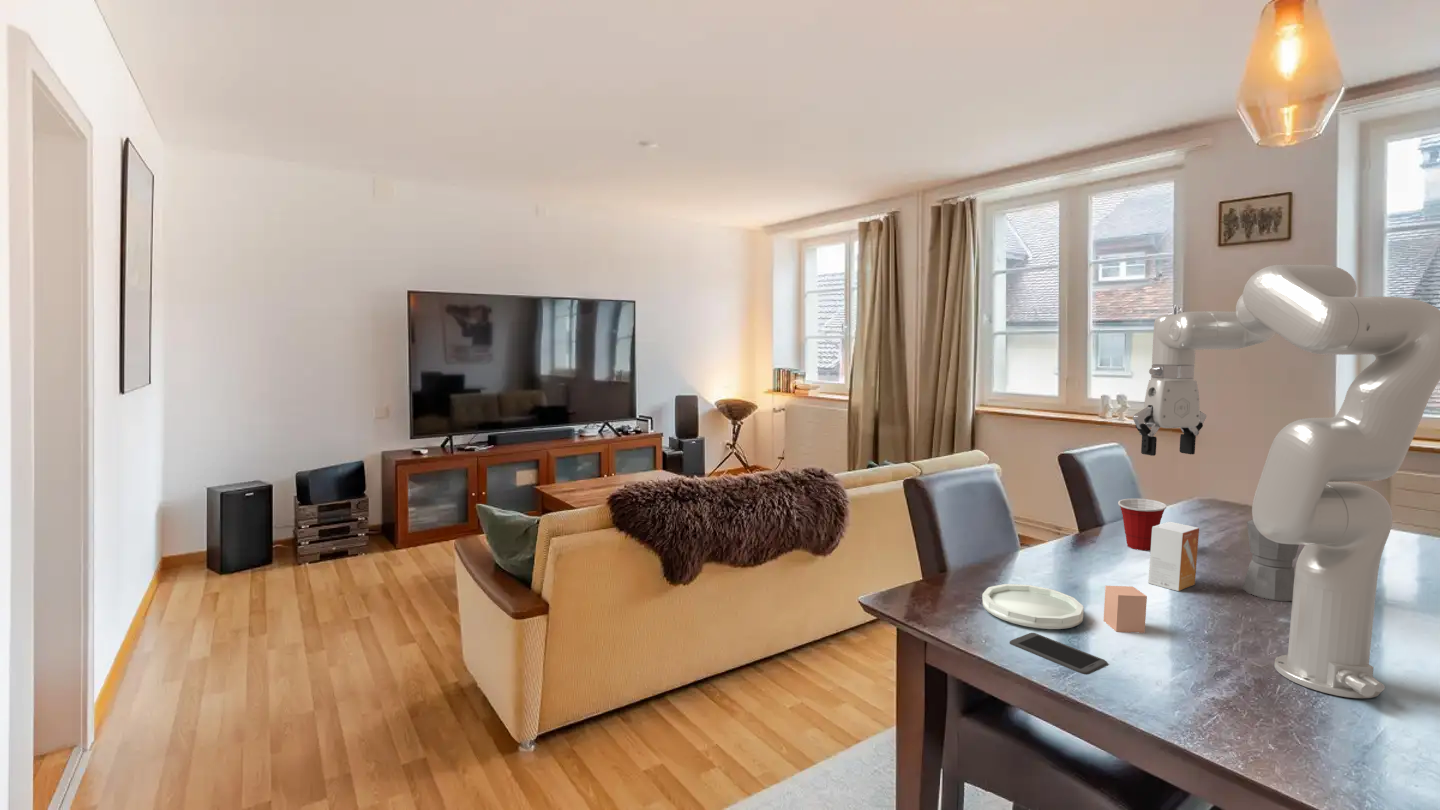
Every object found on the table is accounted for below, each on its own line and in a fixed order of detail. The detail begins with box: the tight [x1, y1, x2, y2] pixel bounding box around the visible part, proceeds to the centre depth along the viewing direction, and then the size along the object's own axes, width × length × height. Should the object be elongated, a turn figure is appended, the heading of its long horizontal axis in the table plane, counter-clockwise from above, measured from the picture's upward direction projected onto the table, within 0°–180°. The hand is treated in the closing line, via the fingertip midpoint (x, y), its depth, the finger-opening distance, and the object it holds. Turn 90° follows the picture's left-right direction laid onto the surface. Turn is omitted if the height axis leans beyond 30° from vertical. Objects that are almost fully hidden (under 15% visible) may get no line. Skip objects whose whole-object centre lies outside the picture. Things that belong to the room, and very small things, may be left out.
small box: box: [1147, 521, 1200, 592], centre depth 150 cm, size 8×6×13 cm
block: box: [1103, 585, 1148, 634], centre depth 128 cm, size 5×5×7 cm
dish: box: [981, 583, 1085, 630], centre depth 134 cm, size 18×18×3 cm
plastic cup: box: [1117, 498, 1167, 551], centre depth 177 cm, size 11×11×12 cm
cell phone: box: [1009, 632, 1108, 675], centre depth 117 cm, size 7×14×1 cm, turn 33°
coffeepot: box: [1242, 518, 1300, 602], centre depth 145 cm, size 15×9×18 cm, turn 151°
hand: (1167, 454), depth 145 cm, fingers open, 9 cm apart
